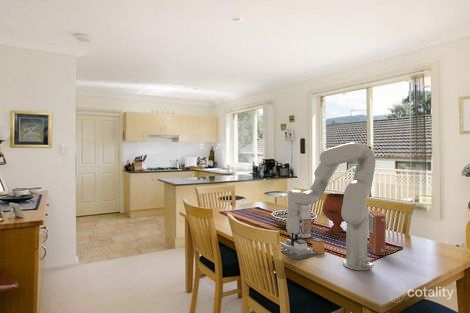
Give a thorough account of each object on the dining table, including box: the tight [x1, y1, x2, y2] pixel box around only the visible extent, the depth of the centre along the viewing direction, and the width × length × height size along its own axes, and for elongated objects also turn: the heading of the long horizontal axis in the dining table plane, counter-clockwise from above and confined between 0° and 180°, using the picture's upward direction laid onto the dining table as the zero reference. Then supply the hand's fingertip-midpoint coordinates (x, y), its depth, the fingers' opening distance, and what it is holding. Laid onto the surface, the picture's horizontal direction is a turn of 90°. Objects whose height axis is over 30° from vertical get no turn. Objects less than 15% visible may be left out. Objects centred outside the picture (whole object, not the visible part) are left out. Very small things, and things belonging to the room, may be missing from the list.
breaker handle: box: [294, 238, 308, 251], centre depth 162 cm, size 5×5×5 cm
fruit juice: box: [300, 204, 312, 239], centre depth 195 cm, size 9×9×28 cm
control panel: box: [368, 209, 387, 256], centre depth 167 cm, size 21×7×15 cm
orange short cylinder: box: [311, 237, 325, 255], centre depth 166 cm, size 5×5×7 cm
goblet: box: [322, 192, 345, 233], centre depth 208 cm, size 19×19×25 cm
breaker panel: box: [280, 238, 317, 260], centre depth 168 cm, size 22×13×4 cm, turn 28°
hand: (294, 245), depth 166 cm, fingers closed
